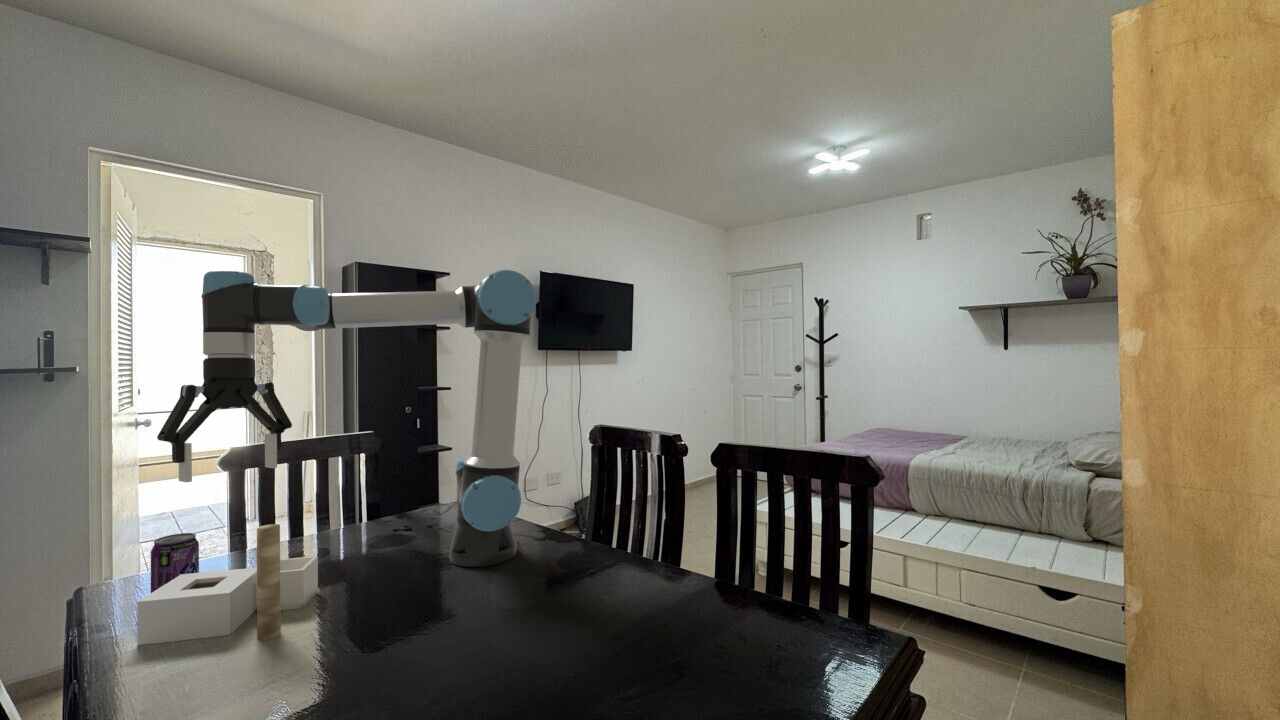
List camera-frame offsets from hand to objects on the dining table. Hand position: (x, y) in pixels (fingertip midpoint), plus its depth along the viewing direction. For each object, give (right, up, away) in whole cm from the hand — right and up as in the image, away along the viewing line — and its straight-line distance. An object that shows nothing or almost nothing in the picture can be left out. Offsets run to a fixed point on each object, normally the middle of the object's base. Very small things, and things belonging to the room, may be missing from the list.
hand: (230, 474), depth 98 cm
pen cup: (+7, -25, +5) cm, 27 cm away
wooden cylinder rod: (+12, -25, -8) cm, 29 cm away
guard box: (-2, -25, -3) cm, 26 cm away
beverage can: (-16, -26, +7) cm, 31 cm away
